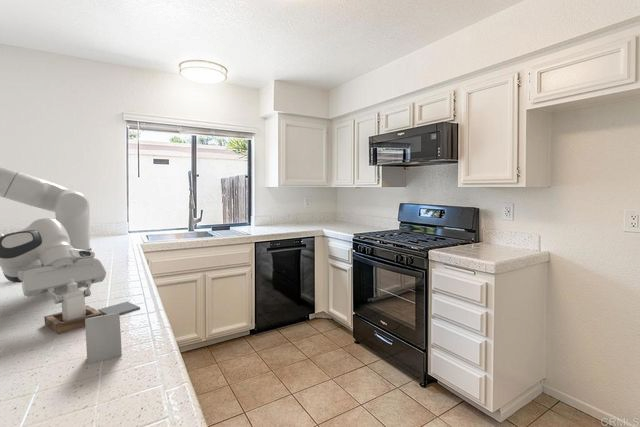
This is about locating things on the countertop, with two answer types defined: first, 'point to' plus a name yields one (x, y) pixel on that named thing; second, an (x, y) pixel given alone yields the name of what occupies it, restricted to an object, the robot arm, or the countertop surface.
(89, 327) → the white rectangular box
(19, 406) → the countertop surface
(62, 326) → the block
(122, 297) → the countertop surface
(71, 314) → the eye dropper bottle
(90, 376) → the countertop surface
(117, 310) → the coaster
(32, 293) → the robot arm
